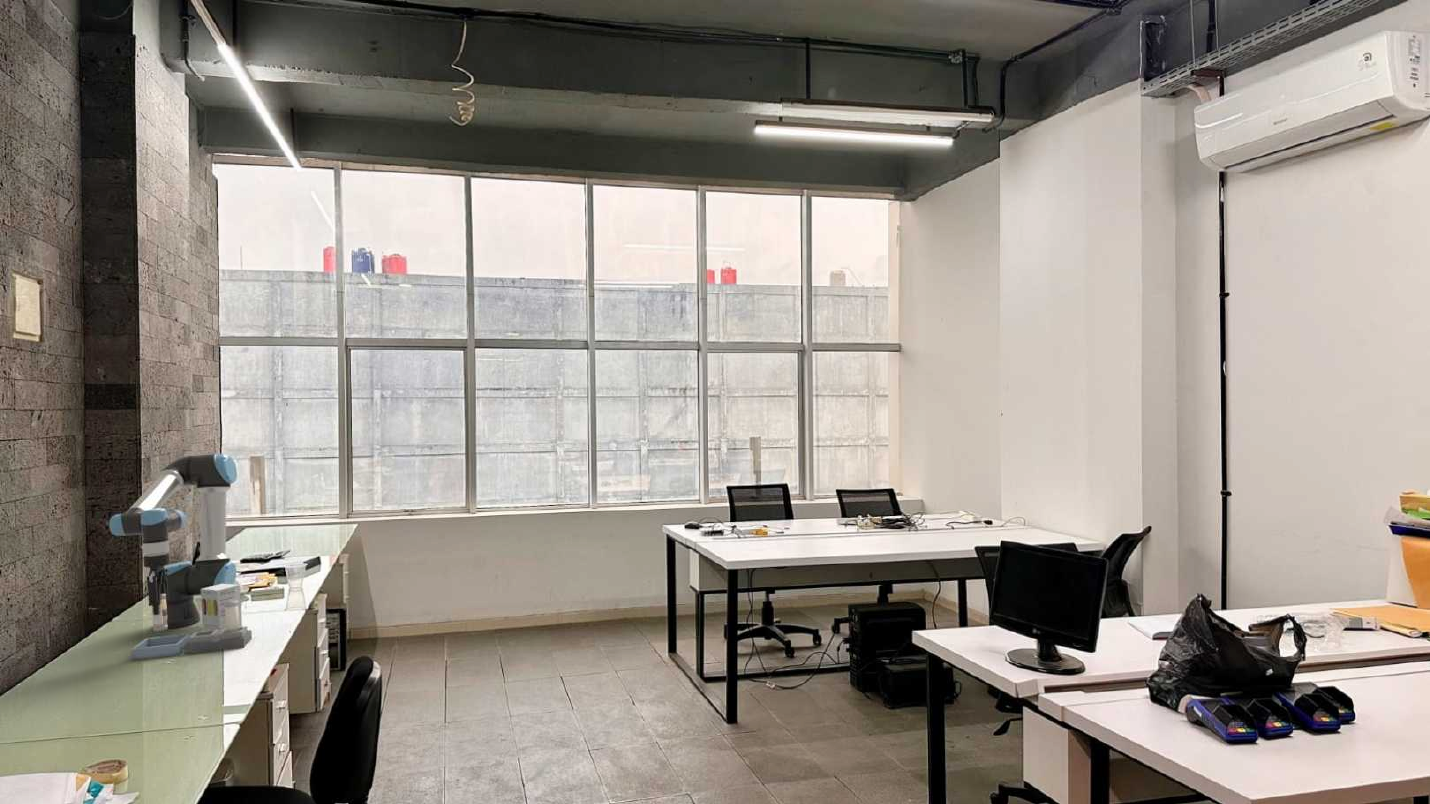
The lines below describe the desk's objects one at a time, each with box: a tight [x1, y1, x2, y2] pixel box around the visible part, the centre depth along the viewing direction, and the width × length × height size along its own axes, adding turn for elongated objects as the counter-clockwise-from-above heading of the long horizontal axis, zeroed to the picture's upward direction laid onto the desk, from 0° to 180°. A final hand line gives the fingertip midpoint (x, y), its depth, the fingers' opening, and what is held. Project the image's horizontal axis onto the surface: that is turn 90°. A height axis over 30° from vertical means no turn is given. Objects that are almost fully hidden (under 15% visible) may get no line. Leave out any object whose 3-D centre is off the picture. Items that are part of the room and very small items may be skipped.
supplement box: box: [200, 584, 243, 633], centre depth 321 cm, size 10×9×17 cm
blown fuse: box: [152, 593, 168, 632], centre depth 299 cm, size 4×4×12 cm
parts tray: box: [130, 633, 192, 661], centre depth 299 cm, size 14×14×4 cm
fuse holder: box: [184, 600, 253, 655], centre depth 302 cm, size 11×18×15 cm, turn 106°
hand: (160, 621), depth 299 cm, fingers closed on blown fuse, 4 cm apart
